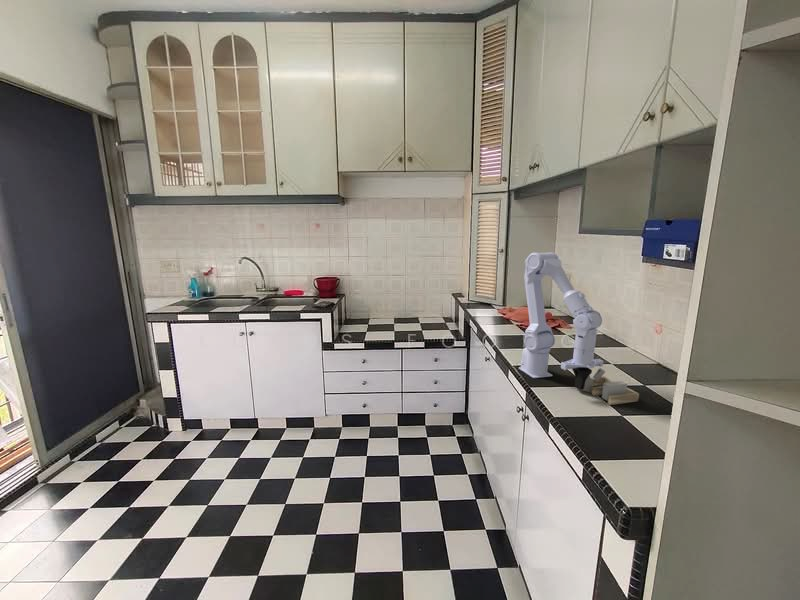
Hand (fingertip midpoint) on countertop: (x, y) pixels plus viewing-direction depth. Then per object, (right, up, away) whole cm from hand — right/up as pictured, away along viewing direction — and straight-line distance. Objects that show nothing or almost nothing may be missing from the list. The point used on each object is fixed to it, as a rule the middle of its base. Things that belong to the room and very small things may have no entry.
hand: (579, 388), depth 113 cm
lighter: (+4, -1, +1) cm, 4 cm away
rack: (+8, -2, -1) cm, 8 cm away
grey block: (+9, -2, -4) cm, 10 cm away
